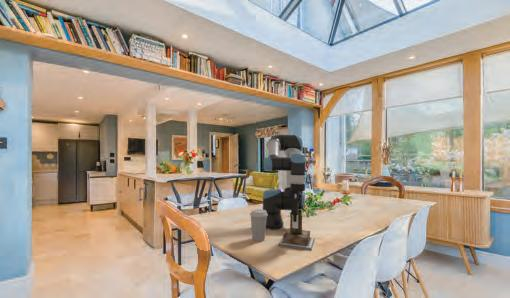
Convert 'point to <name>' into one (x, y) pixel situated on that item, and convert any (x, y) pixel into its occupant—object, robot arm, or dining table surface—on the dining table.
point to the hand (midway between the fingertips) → (297, 224)
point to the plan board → (298, 245)
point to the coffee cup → (258, 224)
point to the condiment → (299, 230)
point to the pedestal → (296, 238)
